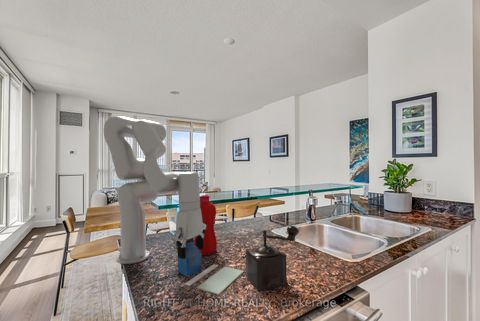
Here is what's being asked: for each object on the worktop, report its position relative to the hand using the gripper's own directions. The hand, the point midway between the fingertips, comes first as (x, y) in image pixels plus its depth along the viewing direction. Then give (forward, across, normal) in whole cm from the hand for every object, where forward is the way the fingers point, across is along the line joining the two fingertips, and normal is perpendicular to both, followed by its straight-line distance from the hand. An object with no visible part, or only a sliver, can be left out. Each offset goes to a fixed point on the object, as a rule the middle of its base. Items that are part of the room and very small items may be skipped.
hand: (191, 253), depth 82 cm
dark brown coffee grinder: (+8, -8, +28) cm, 30 cm away
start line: (+7, 0, +5) cm, 8 cm away
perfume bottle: (+7, 0, -1) cm, 7 cm away
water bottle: (+6, -17, -8) cm, 20 cm away
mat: (+7, 0, +13) cm, 15 cm away
